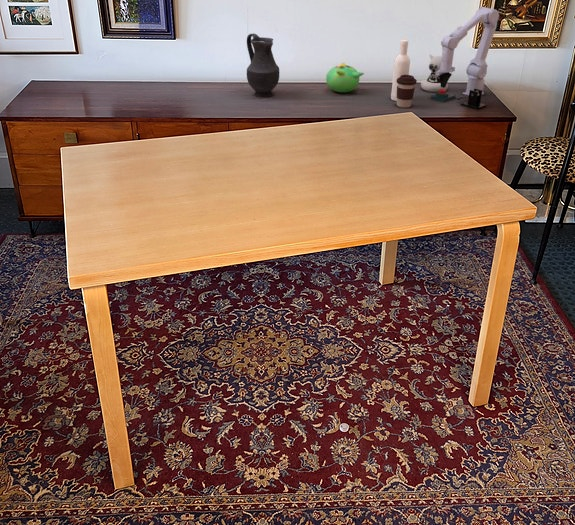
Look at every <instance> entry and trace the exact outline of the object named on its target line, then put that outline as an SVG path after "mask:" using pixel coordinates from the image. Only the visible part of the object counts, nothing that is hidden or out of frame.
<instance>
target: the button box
mask: <svg viewBox="0 0 575 525" xmlns="http://www.w3.org/2000/svg"><path fill="white" fill-rule="evenodd" d="M430 99H431V100H434V101H438V102H441V103H445V102H448V101H451V100H455V99H456V94H452V93H449V92H448V91H446V94H440V93H439V91H437V92H435V94H432V95H430Z"/></svg>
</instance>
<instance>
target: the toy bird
mask: <svg viewBox="0 0 575 525" xmlns="http://www.w3.org/2000/svg"><path fill="white" fill-rule="evenodd" d="M363 75H365V72H364V71H358V70H357V69H356V68H355V67H353V66H351V65H347V64H346V63H345V62H341V63H340V64H339V65H335V66H333V67H332V68H331V69H329V70H328V72H327V73H326V76H325V77H326V78H325V82H326V84H327V87H328V88H329V89H330V90H332V91H333V92H336V93H348V92H351V91H354V90H355V89H356V88H357V87H358V85H359V84H360V80H361V78H360V77H362V76H363Z"/></svg>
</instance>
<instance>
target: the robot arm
mask: <svg viewBox="0 0 575 525" xmlns="http://www.w3.org/2000/svg"><path fill="white" fill-rule="evenodd" d="M499 18H500V13H499V11H498V10H497V9H494V8H490V7H485V6H480V7H479V8H478V9H477V10H475V14H473V16H472V17H471V18H470V19H469V20H468V21H467V22H465V23H464V25H459V26H457V27H456V29H454V31H453V32H451V33H450V34H449V35H446V36H444V37H443V38H442V40H441V41H440V45H441V48H442V49H441V50H442V52H441V57H442V59H441V66H440V69H439V70H438V71H436V74H435V75H437V76H439V78H440V84H441V87H443V88H445V87H446V85H447V83H449V80H450V78H452V75H453V74H452V73H453V72H455V71H456V67H455V66H453V61H454V54H455V49H456V48H457V47H458V45H459V43H460V42H461V41H462V40H463V39H464V38H465V37H467V35H468V32H469V31H470V30H472V29H473V28H475V27H476V26H477V25H478V24H479V23H482V25H483V27H484V28H483V32H482V35H481V38H480V40H479V44H478V47H477V51H476V54H475V57H474V58H473V59H471V60H470V62H469V64H468V65H467V67H466V70H465V71H466V74H467V77H468V78H467V84H466V88H465V89H466V90H465V91H464V92H462V95H464V96H466V95H469V92H470V90H473V91H474V89H479V90H483V91H482V95H485V92H484V88H485V84H486V83H485V77H486V76H487V72H488V71H487V70H488V66H489V65H488V63H487V61H486V59H487V57H488V54H489V50H490V47H491V44H492V41H493V38H494V35H495V33H496V29H497V26H498V20H499Z"/></svg>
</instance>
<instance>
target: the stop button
mask: <svg viewBox="0 0 575 525" xmlns="http://www.w3.org/2000/svg"><path fill="white" fill-rule="evenodd" d="M446 92H447V90H445V89H440V90H439V93H440V94H446Z"/></svg>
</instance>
